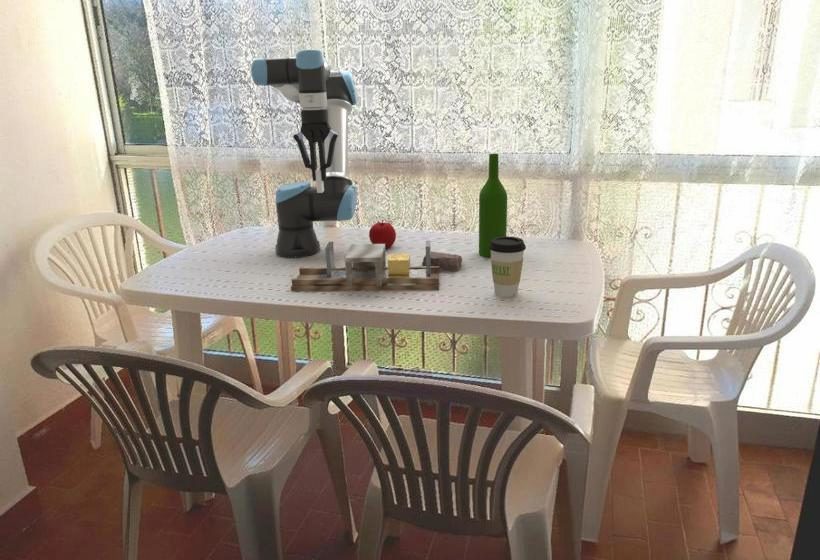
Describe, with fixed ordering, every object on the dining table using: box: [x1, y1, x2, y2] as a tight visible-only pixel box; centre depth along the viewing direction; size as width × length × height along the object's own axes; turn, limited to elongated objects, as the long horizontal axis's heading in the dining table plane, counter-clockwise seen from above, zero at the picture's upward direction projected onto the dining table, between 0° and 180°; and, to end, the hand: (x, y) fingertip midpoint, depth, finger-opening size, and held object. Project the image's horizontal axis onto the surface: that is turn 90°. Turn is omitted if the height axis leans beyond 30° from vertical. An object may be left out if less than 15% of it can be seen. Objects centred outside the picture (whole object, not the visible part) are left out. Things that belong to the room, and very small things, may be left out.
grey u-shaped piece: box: [324, 239, 432, 278], centre depth 182 cm, size 30×8×10 cm, turn 87°
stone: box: [421, 251, 463, 272], centre depth 195 cm, size 9×12×5 cm
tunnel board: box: [290, 243, 440, 292], centre depth 183 cm, size 42×14×10 cm, turn 87°
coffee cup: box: [489, 235, 527, 298], centre depth 170 cm, size 10×10×15 cm
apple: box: [368, 219, 397, 249], centre depth 217 cm, size 9×9×10 cm
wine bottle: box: [478, 153, 508, 259], centre depth 201 cm, size 9×9×32 cm
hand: (320, 191), depth 183 cm, fingers closed
